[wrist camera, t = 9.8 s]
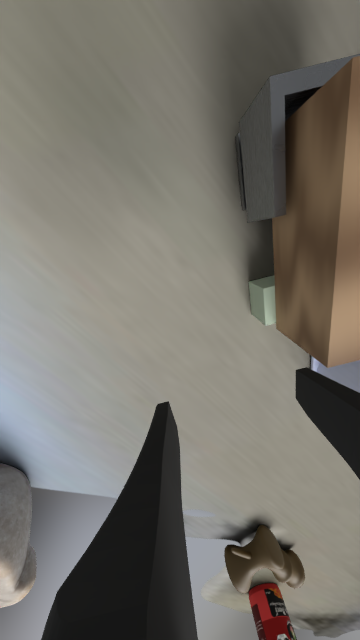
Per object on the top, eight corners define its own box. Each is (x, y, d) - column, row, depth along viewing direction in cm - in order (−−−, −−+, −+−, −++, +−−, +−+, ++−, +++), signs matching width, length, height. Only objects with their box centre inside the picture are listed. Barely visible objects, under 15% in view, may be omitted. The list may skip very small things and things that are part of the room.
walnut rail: (308, 320, 18) (373, 356, 13) (276, 328, 18) (327, 368, 13) (314, 125, 13) (433, 37, 7) (268, 136, 13) (352, 57, 7)
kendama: (267, 558, 45) (207, 539, 38) (301, 537, 43) (244, 513, 36) (283, 602, 39) (216, 590, 32) (323, 580, 37) (261, 562, 31)
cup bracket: (304, 207, 17) (371, 193, 12) (238, 224, 17) (274, 217, 12) (305, 117, 15) (391, 45, 9) (229, 136, 15) (269, 76, 9)
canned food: (283, 586, 51) (314, 673, 40) (257, 598, 52) (281, 684, 42) (268, 579, 48) (297, 670, 38) (241, 591, 49) (262, 682, 39)
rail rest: (298, 302, 21) (319, 312, 18) (251, 314, 21) (265, 325, 18) (298, 269, 19) (321, 274, 17) (248, 281, 19) (263, 288, 17)
